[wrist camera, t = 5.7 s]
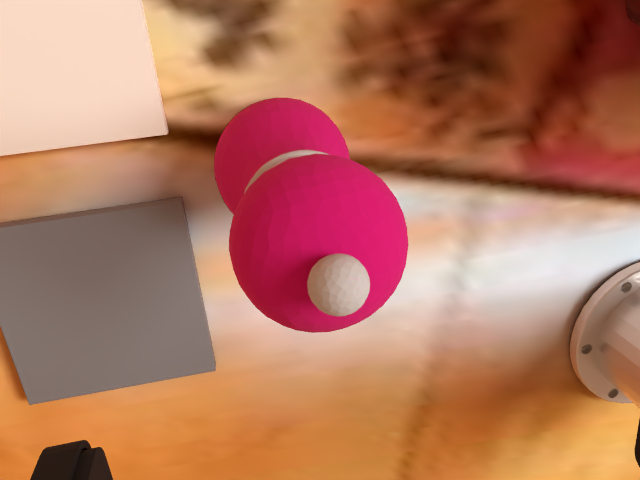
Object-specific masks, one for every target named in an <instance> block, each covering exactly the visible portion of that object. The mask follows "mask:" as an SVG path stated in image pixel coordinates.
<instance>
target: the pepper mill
mask: <svg viewBox="0 0 640 480" xmlns="http://www.w3.org/2000/svg"><path fill="white" fill-rule="evenodd" d="M214 172H215V179H216V182H217V185H218V189H219V192H220V194H221V196H222V198H223V200H224V202H225V204H226V205H227V207H228V208H229V210H230V211H231V212H232V213H233V214H234V216H233V220H232V224H231V229H230V237H229V252H230V256H231V261H232V265H233V269H234V272H235V275H236V277H237V280H238V282H239V285H240V286H241V288H242V289H243V291H244V292H245V294H246V295H247V297H248V298H249V299H250V301H251V302H252V303H253V304H254V305H255V307H256V308H257V309H259V310H260V311H261V312H262V313H263V314H264V315H265V316H267V317H268V318H270V319H272V320H274V321H276V322H277V323H279V324H281V325H283V326H286V327H289V328H292V329H295V330H299V331H305V332H330V331H335V330H339V329H343V328H346V327H349V326H351V325H354V324H356V323H358V322H360V321H362V320H364V319H366V318H367V317H369V316H371V315H372V314H373V313H374V312H376V311H377V310H378V309H379V308H380V307H382V306H383V305H384V303H385V302H386V301H387V300H388V299H389V297H390V296H391V295H392V294H393V293H394V291H395V289H396V287H397V285H398V284H399V282H400V280H401V277H402V274H403V271H404V268H405V265H406V258H407V250H408V236H407V227H406V223H405V219H404V215H403V212H402V210H401V208H400V206H399V203H398V201H397V199H396V197H395V196H394V195H393V193H392V192H391V191H390V189H389V188H388V186H387V185H386V184H385V183H384V182H383V180H382V179H381V178H379V177H378V176H377V175H375V174H374V173H373V172H372V171H370V170H369V169H368V168H366V167H364V166H363V165H361V164H359V163H357V162H355V161H353V160H351V159H350V158H349V151H348V148H347V145H346V143H345V140H344V138H343V136H342V134H341V133H340V131H339V129H338V128H337V126H336V125H335V124H334V122H333V121H332V120H331V119H330V118H329V117H328V116H327V115H326V114H325V113H324V112H322V111H321V110H320V109H318V108H316V107H315V106H313V105H311V104H309V103H306V102H303V101H301V100H297V99H291V98H273V99H267V100H263V101H260V102H257V103H254V104H252V105H250V106H248V107H247V108H245V109H244V110H242V111H241V112H239V113H238V114H237V115H236V116H235V117H234V118H233V119H232V120H231V121H230V122H229V124H228V125H227V126H226V128H225V129H224V131H223V133H222V135H221V136H220V139H219V141H218V144H217V147H216V152H215V157H214Z"/></svg>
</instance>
